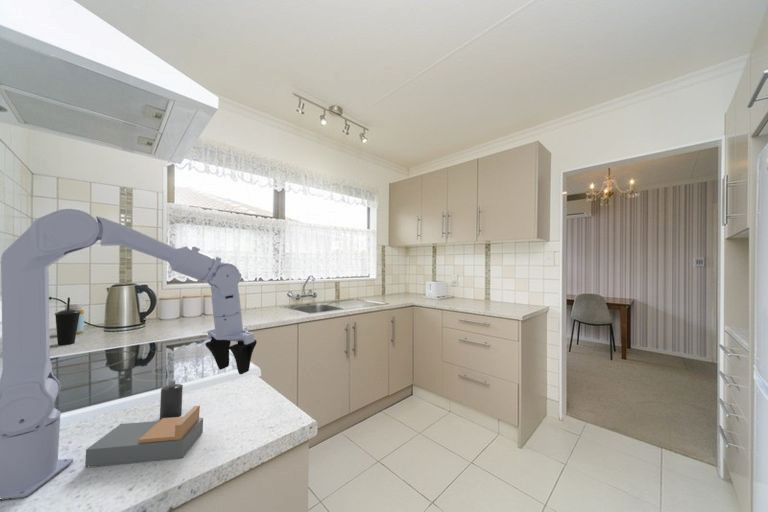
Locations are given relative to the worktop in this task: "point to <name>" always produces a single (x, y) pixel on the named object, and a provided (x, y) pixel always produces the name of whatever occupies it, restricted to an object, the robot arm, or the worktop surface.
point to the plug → (171, 400)
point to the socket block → (138, 445)
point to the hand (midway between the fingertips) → (233, 370)
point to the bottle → (81, 317)
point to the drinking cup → (67, 325)
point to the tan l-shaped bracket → (171, 427)
